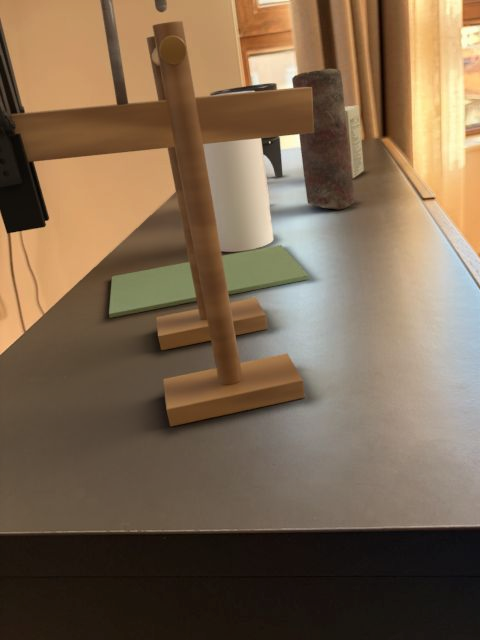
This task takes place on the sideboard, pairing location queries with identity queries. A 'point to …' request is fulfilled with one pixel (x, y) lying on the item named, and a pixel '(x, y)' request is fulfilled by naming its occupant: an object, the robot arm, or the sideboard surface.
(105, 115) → the hanger
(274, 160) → the planter
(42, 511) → the sideboard surface
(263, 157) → the container
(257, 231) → the cup
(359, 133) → the cosmetic box
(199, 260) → the rail stand
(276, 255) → the mat
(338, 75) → the candle
